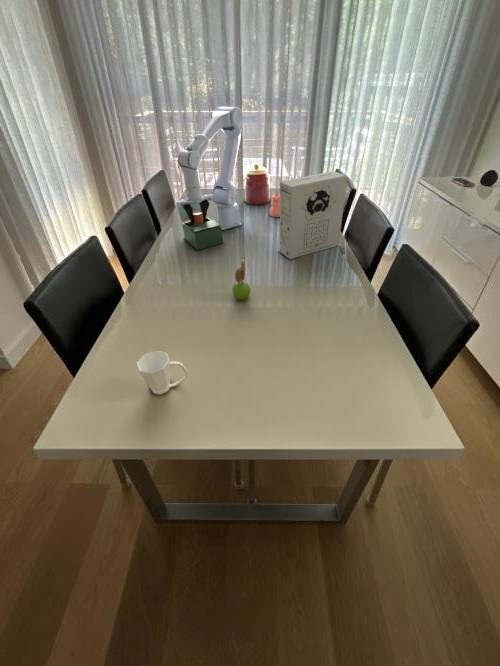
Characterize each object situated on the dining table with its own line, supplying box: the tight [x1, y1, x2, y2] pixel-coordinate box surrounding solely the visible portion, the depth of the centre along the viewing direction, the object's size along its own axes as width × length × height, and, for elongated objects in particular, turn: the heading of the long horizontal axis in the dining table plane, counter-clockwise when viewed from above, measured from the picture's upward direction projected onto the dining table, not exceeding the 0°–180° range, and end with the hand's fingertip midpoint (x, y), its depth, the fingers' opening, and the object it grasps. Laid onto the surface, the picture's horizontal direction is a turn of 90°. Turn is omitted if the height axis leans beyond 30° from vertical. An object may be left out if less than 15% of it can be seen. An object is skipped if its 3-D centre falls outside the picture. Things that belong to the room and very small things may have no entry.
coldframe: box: [181, 216, 224, 251], centre depth 136 cm, size 13×11×7 cm
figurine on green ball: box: [231, 256, 251, 300], centre depth 100 cm, size 5×6×12 cm
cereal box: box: [279, 170, 348, 260], centre depth 120 cm, size 22×8×25 cm, turn 115°
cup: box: [135, 350, 188, 395], centre depth 74 cm, size 7×10×8 cm
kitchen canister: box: [243, 162, 271, 206], centre depth 168 cm, size 13×13×18 cm
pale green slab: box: [177, 203, 208, 222], centre depth 137 cm, size 6×11×1 cm
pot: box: [193, 211, 204, 225], centre depth 135 cm, size 5×5×5 cm
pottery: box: [269, 191, 280, 218], centre depth 154 cm, size 18×10×10 cm, turn 94°
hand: (198, 221), depth 136 cm, fingers closed on pot, 4 cm apart
